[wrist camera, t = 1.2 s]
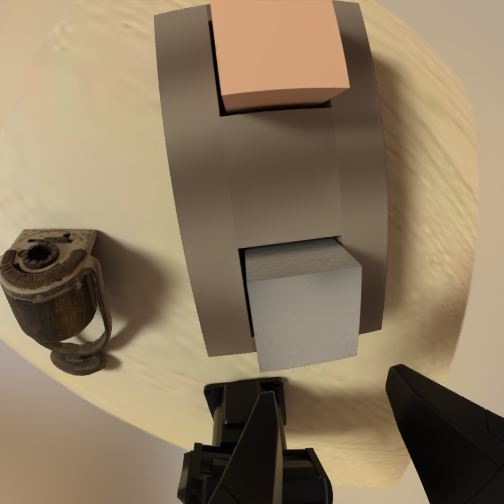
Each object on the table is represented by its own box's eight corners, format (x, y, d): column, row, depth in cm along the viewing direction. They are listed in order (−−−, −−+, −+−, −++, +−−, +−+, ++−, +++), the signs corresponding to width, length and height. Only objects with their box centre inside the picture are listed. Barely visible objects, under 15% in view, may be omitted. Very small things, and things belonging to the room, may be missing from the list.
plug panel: (353, 292, 20) (381, 329, 16) (214, 312, 20) (208, 356, 16) (331, 34, 15) (358, 3, 10) (174, 47, 15) (154, 15, 10)
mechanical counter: (142, 294, 14) (-19, 218, 10) (93, 431, 16) (-23, 380, 12) (147, 247, 20) (31, 194, 16) (102, 370, 23) (7, 329, 19)
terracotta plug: (315, 106, 13) (349, 87, 9) (227, 114, 13) (221, 95, 9) (303, 31, 12) (328, -12, 7) (217, 36, 12) (209, -8, 7)
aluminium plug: (329, 305, 17) (356, 355, 12) (254, 317, 17) (260, 372, 12) (327, 233, 15) (361, 265, 11) (244, 243, 15) (247, 282, 11)
